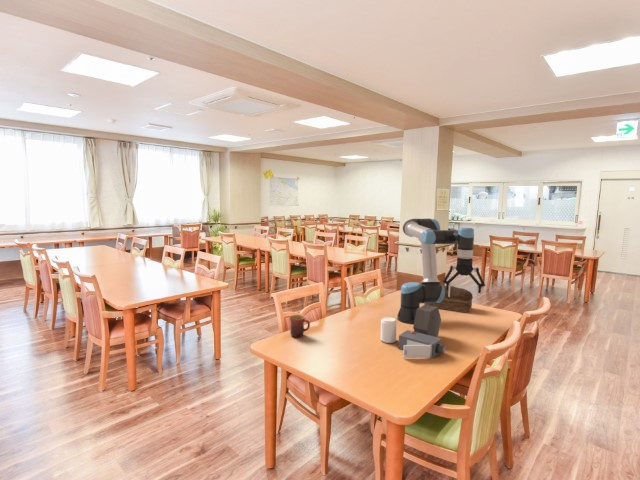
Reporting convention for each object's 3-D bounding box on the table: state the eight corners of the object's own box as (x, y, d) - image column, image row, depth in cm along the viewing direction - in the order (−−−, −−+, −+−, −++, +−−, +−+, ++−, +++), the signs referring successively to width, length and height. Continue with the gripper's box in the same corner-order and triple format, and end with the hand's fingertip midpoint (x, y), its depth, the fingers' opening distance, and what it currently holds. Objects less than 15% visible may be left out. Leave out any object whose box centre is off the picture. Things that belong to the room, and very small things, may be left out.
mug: (286, 336, 196) (286, 318, 195) (294, 331, 204) (294, 314, 203) (305, 340, 191) (305, 321, 190) (312, 335, 199) (313, 317, 198)
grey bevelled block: (429, 322, 207) (422, 297, 196) (442, 325, 202) (436, 300, 191) (418, 345, 197) (410, 320, 186) (432, 349, 192) (425, 323, 181)
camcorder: (398, 348, 181) (398, 333, 180) (407, 342, 189) (407, 328, 188) (440, 360, 168) (440, 344, 167) (447, 353, 176) (448, 338, 175)
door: (404, 359, 168) (404, 345, 168) (403, 357, 170) (403, 344, 170) (432, 359, 169) (433, 345, 168) (431, 357, 171) (431, 344, 170)
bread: (427, 301, 268) (428, 281, 266) (473, 308, 252) (474, 286, 250) (422, 306, 255) (423, 285, 254) (470, 314, 240) (471, 290, 238)
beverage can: (386, 344, 186) (387, 322, 185) (377, 339, 193) (377, 318, 192) (398, 342, 190) (399, 320, 189) (389, 337, 197) (389, 315, 196)
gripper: (439, 257, 186) (437, 296, 188) (492, 260, 177) (489, 302, 179) (439, 255, 193) (438, 293, 195) (490, 258, 184) (488, 298, 186)
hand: (462, 297), depth 187 cm, fingers open, 13 cm apart
